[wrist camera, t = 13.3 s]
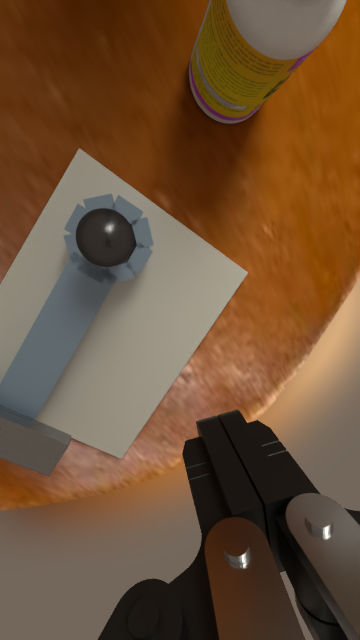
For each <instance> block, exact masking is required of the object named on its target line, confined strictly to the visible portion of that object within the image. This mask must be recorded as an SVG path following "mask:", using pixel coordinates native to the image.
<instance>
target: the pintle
mask: <svg viewBox="0 0 360 640" xmlns="http://www.w3.org/2000/svg"><path fill="white" fill-rule="evenodd" d="M76 243H77V246H78V248H79V250H80V252H81V254H82V255H83V256H84V257H85V258H86V259H87V260H88V261H89V262H91V263H93V264H95V265H97V266H101V267H112V266H116V265H118V264H120V263H122V262H123V261H125V260H126V259H127V258H128V256H129V255H130V253H131V251H132V249H133V245H134V234H133V230H132V227H131V225H130V224H129V222H128V221H127V219H126V218H125V217H124V216H123V215H121V214H120V213H118V212H117V211H114V210H112V209H107V208H98V209H94V210H92V211H90V212H88V213H86V214H85V215H84V216H83V217H82V218H81V220H80V221H79V223H78V225H77V228H76Z"/></svg>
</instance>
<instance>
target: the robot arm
mask: <svg viewBox="0 0 360 640" xmlns="http://www.w3.org/2000/svg"><path fill="white" fill-rule="evenodd" d="M196 424H197V429H198V434H199V437H197V438H194V439H190V440H187V441H186V442H185V445H184V449H183V453H182V454H183V458H184V463H185V467H186V471H187V475H188V480H189V484H190V488H191V493H192V496H193V500H194V505H195V508H196V513H197V517H198V521H199V525H200V529H201V533H202V542H201V546H200V550H199V552H198V554H197V556H196V558H195V560H194V561H193V563H192V564H191V565H190V566H189V568H187V569H186V570H185V571H184V572H183V573H182V574H180V575H179V576H178V577H177V578H175V579H174V580H173V581H172V582H171V583H169V584H167V583H166V582H164V581H162V580H159V579H147V580H143V581H141V582H139V583H137V584H135V585H134V586H133V587H131V588H130V589H129V590H128V591H127V592H126V593H125V594H124V595H123V597H122V598H121V599H120V601H119V603H118V604H117V606H116V608H115V610H114V611H113V613H112V615H111V617H110V619H109V620H108V622H107V624H106V626H105V628H104V630H103V631H102V633H101V635H100V636H99V638H98V640H305V637H304V635H303V632H302V630H301V627H300V625H299V622H298V619H297V617H296V614H295V611H294V609H293V606H292V603H291V601H290V598H289V596H288V593H287V591H286V588H285V585H284V583H283V580H282V578H281V575H280V572H283V571H286V573H287V575H288V578H289V580H290V582H291V584H292V586H293V588H294V595H295V602H296V605H297V608H298V610H299V612H300V614H301V616H302V618H303V620H304V622H305V624H306V626H307V628H308V630H309V631H310V633H311V635H312V637H313V639H314V640H360V511H353V510H348V509H345V508H343V507H342V506H341V505H340V504H338V503H337V502H336V501H335V500H333V499H331V498H329V497H327V496H324V495H321V494H320V493H319V492H318V490H317V489H316V488H315V487H314V485H313V484H312V483H311V481H310V480H309V479H308V477H307V476H306V475H305V473H304V472H303V471H302V469H301V468H300V467H299V466H298V464H297V463H296V461H295V460H294V459H293V458H292V456H291V455H290V454H289V452H288V451H286V448H285V447H284V446H283V444H282V443H281V442H280V441H279V440H278V438H277V436H276V435H275V434H274V433H273V431H272V430H271V429H270V428H269V427H268V426H266V425H264V424H263V423H261V422H259V421H258V420H256V421H253V422H249V423H247V422H246V420H245V419H244V417H243V416H242V414H241V413H240V411H239V410H234V411H231V412H227V413H224V414H220V415H218V416H213V417H210V418H206V419H202V420H199V421H196Z"/></svg>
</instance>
